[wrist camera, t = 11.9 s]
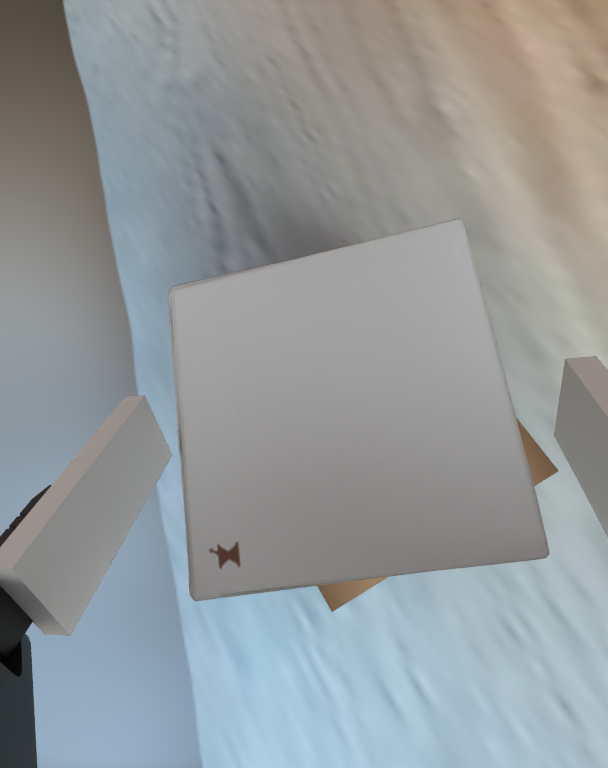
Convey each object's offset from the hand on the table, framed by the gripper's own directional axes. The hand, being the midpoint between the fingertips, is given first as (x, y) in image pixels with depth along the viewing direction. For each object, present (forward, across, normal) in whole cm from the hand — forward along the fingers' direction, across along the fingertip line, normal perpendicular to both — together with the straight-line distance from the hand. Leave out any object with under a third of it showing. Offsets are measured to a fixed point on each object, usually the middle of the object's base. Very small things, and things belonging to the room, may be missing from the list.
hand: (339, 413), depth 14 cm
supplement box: (+5, 0, -6) cm, 8 cm away
